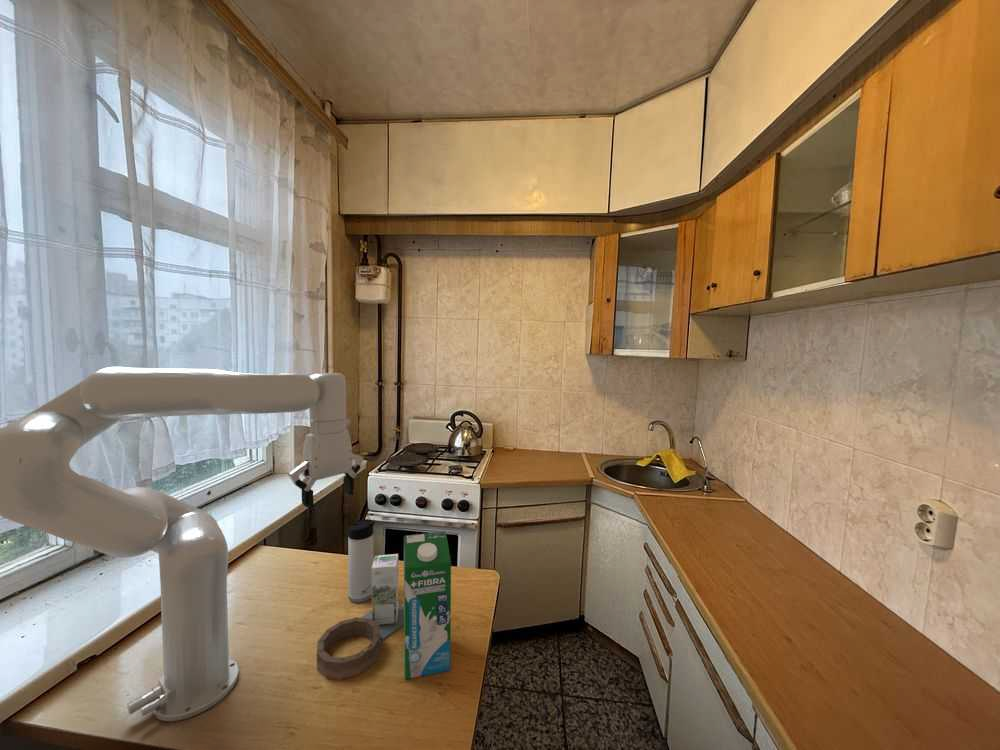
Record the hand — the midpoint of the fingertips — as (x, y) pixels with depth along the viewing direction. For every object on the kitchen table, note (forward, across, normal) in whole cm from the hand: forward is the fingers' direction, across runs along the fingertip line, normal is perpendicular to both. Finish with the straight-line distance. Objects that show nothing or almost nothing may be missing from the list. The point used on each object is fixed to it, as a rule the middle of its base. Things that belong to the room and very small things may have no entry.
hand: (329, 500), depth 86 cm
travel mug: (+31, -11, -4) cm, 33 cm away
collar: (+30, +2, +11) cm, 32 cm away
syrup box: (+30, -9, +8) cm, 33 cm away
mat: (+30, -10, +8) cm, 33 cm away
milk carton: (+31, -7, +25) cm, 40 cm away
